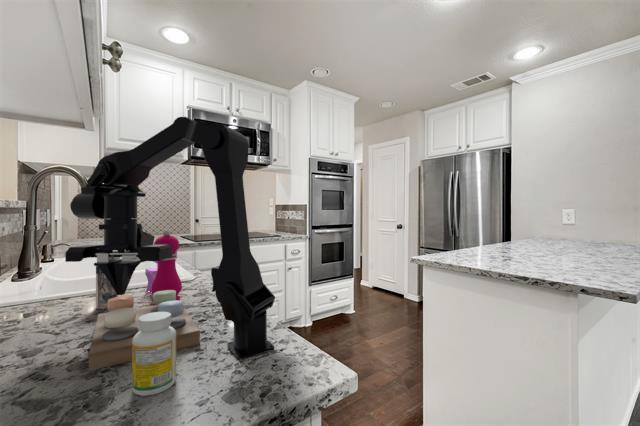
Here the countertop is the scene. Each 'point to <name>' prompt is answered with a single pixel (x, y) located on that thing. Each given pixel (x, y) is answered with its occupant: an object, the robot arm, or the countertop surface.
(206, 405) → the countertop surface
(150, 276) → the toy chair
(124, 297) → the terracotta button
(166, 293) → the sage button
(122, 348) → the wooden button board
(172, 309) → the slate blue button
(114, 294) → the beer can
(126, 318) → the cream button
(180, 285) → the pepper mill
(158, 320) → the supplement bottle
